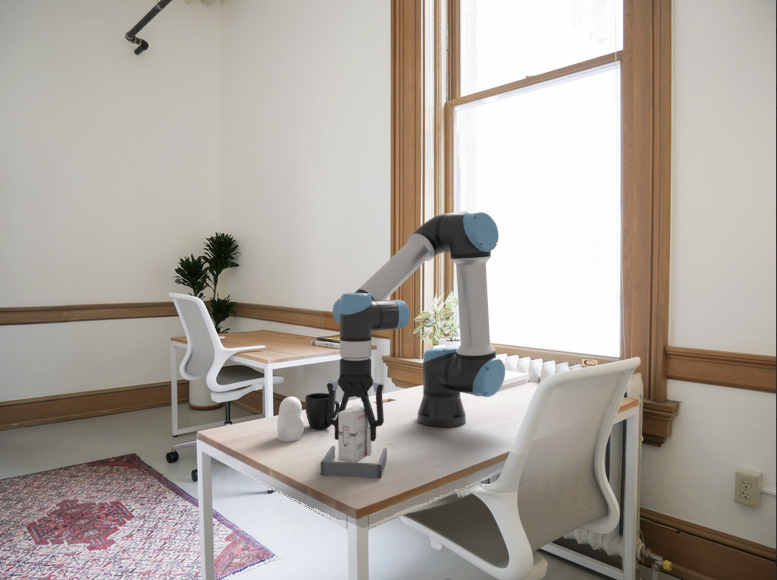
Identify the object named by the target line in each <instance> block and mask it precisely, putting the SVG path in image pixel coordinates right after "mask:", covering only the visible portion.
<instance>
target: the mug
mask: <svg viewBox="0 0 777 580" xmlns="http://www.w3.org/2000/svg"><path fill="white" fill-rule="evenodd" d="M328 398H329V393H326V392H325V393H324V392H314V393H309V394H306V395H305V397H304V400H305V401H304V403H305V414H306V419H307V422H308V425H309V428H310V429H311V430H316V431H319V430H321V431H322V430H326V429H328V428H330V427H331V426H332V424H328V423H327V412H328ZM340 405H341V403H340V402H339V401H338V400H335V411H334V418H335V419H336V417H337V414H338V411H339V408H340Z"/></svg>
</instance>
